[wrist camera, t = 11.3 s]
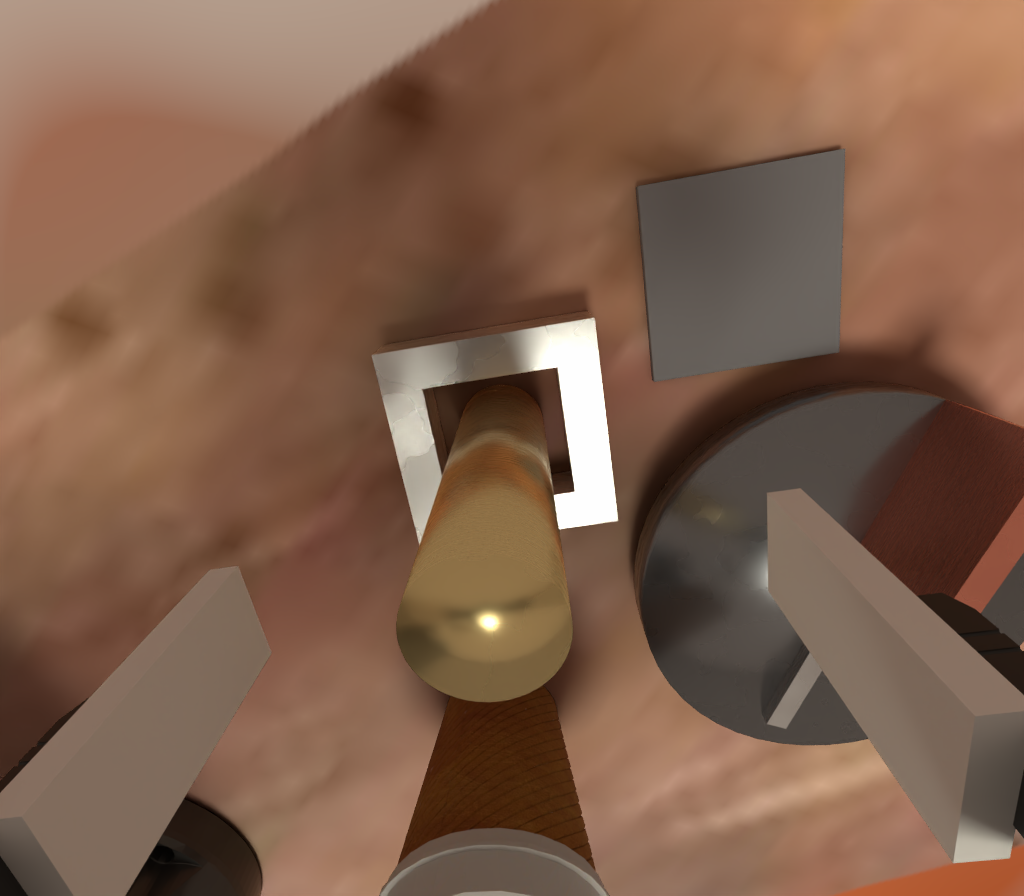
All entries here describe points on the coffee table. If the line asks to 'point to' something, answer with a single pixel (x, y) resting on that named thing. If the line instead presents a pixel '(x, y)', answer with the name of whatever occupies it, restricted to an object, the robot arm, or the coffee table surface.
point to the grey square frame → (492, 354)
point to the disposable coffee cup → (497, 808)
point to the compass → (851, 503)
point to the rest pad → (743, 265)
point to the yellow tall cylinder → (490, 561)
